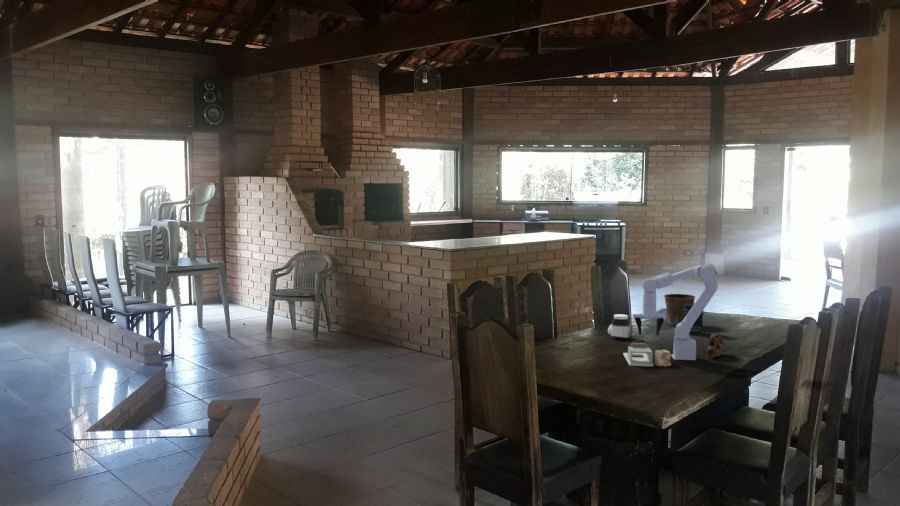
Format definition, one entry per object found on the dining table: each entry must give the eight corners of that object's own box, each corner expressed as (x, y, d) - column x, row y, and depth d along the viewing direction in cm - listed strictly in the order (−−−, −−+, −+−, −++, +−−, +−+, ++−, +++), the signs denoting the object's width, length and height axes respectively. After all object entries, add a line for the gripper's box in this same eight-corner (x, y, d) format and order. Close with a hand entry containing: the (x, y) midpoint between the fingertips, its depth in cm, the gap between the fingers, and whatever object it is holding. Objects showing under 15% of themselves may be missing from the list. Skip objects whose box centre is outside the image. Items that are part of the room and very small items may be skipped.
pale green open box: (648, 358, 321) (649, 343, 320) (652, 363, 312) (652, 347, 311) (627, 357, 322) (628, 342, 321) (630, 363, 313) (631, 347, 312)
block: (664, 360, 318) (664, 349, 317) (669, 363, 313) (670, 352, 313) (655, 361, 317) (655, 350, 316) (660, 364, 312) (660, 352, 312)
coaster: (669, 362, 318) (669, 360, 318) (672, 366, 311) (672, 365, 311) (652, 362, 319) (653, 360, 319) (655, 366, 312) (655, 364, 312)
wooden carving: (717, 361, 321) (718, 338, 320) (706, 359, 324) (707, 337, 323) (724, 353, 335) (725, 332, 334) (714, 352, 338) (715, 330, 337)
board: (645, 355, 332) (645, 353, 331) (653, 366, 312) (653, 364, 312) (623, 354, 333) (623, 352, 332) (629, 365, 313) (629, 363, 313)
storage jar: (705, 335, 374) (706, 306, 372) (685, 335, 374) (687, 306, 372) (699, 331, 384) (700, 303, 382) (680, 330, 384) (681, 302, 382)
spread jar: (623, 341, 360) (624, 317, 359) (602, 338, 367) (602, 315, 365) (633, 336, 369) (633, 314, 368) (612, 334, 376) (613, 311, 375)
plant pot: (662, 327, 394) (663, 297, 392) (663, 321, 409) (664, 293, 407) (694, 329, 389) (695, 299, 387) (693, 323, 404) (695, 294, 403)
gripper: (664, 303, 332) (663, 333, 334) (631, 303, 334) (631, 332, 335) (667, 306, 325) (666, 336, 327) (634, 305, 327) (633, 335, 328)
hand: (648, 334), depth 330 cm, fingers open, 7 cm apart
